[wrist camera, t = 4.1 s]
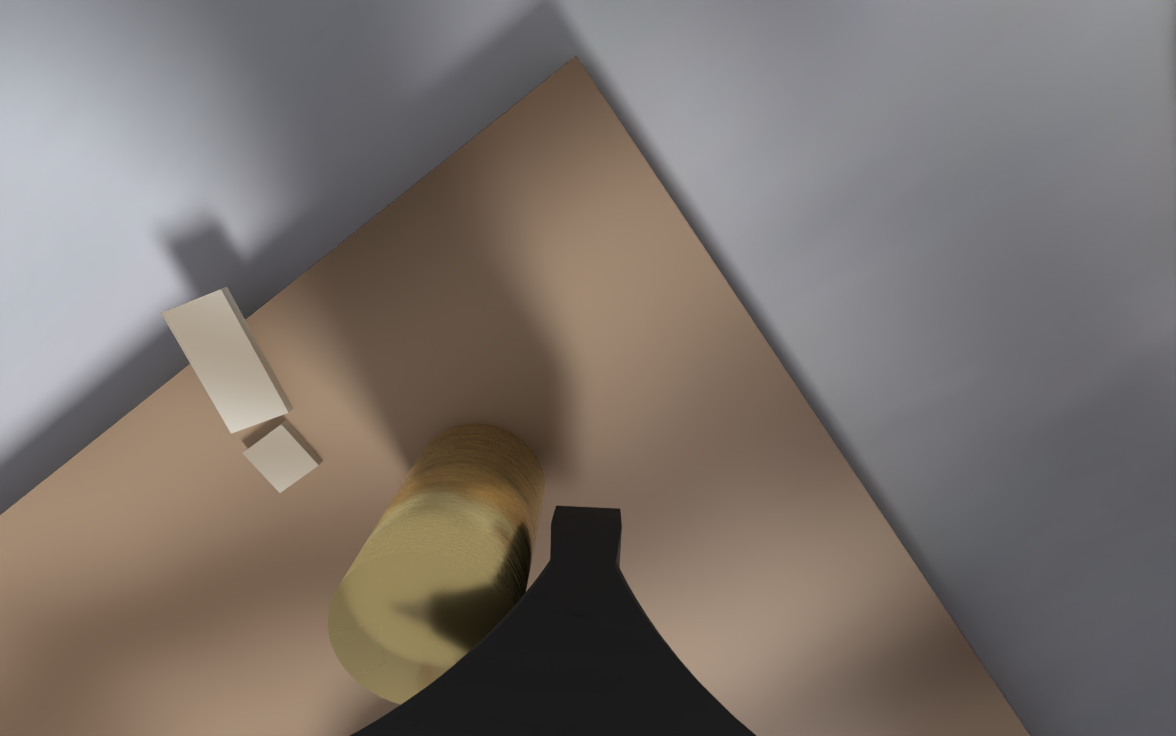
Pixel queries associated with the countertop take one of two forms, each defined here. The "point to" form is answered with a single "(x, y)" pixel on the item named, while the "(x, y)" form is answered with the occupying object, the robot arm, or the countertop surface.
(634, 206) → the brown cutting board
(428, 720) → the robot arm
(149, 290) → the countertop surface
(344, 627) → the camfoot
